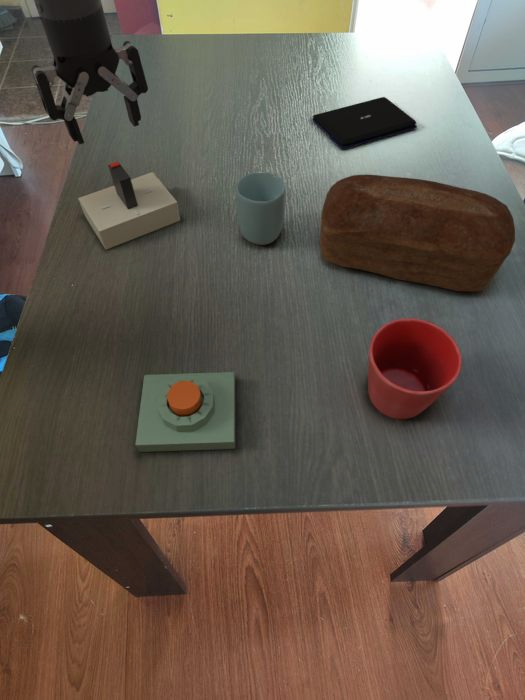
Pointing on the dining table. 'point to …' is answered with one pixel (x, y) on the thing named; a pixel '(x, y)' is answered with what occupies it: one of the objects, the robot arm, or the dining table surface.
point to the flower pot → (410, 366)
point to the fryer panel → (130, 211)
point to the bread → (416, 231)
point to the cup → (260, 206)
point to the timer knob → (123, 185)
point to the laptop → (363, 122)
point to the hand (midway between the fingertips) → (107, 132)
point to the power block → (192, 430)
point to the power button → (184, 398)
